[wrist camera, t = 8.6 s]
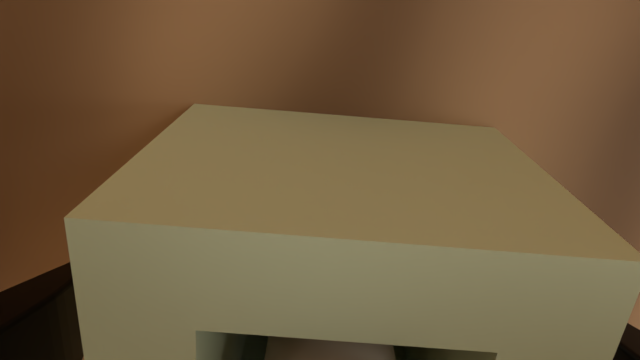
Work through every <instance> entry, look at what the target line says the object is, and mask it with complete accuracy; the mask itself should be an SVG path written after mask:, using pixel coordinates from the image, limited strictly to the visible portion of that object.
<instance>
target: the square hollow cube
mask: <svg viewBox="0 0 640 360" xmlns="http://www.w3.org/2000/svg"><path fill="white" fill-rule="evenodd" d="M64 222H65V229H66V236H67V243H68V250H69V257H70V264H71V271H72V278H73V285H74V292H75V299H76V306H77V313H78V320H79V327H80V334H81V341H82V347H83V354H84V360H264V359H265V353H266V348H267V342H268V336H277V337H291V338H304V339H318V340H331V341H345V342H358V343H372V344H385V345H393V348H394V354H395V359H396V360H613V358H614V355H615V353H616V350H617V348H618V345H619V342H620V340H621V337H622V335H623V332H624V330H625V327H626V325H627V322H628V320H629V317H630V315H631V312H632V310H633V307H634V305H635V302H636V300H637V297H638V295H639V292H640V253H639V252H638V251H637V250H636V249H635V248H634V247H632V246H631V245H630V244H629V243H628V242H627V241H626V240H624V239H623V238H622V237H621V236H620V235H619V234H617V233H616V232H615V231H614V230H613V229H612V228H610V227H609V226H608V225H607V224H606V223H605V222H604V221H602V220H601V219H600V218H599V217H598V216H597V215H595V214H594V213H593V212H592V211H591V210H590V209H588V208H587V207H586V206H585V205H584V204H583V203H582V202H580V201H579V200H578V199H577V198H576V197H575V196H573V195H572V194H571V193H570V192H569V191H568V190H566V189H565V188H564V187H563V186H562V185H561V184H560V183H558V182H557V181H556V180H555V179H554V178H553V177H551V176H550V175H549V174H548V173H547V172H546V171H544V170H543V169H542V168H541V167H540V166H539V165H538V164H536V163H535V162H534V161H533V160H532V159H531V158H529V157H528V156H527V155H526V154H525V153H524V152H522V151H521V150H520V149H519V148H518V147H517V146H516V145H514V144H513V143H512V142H511V141H510V140H509V139H507V138H506V137H505V136H504V135H503V134H502V133H500V132H499V131H498V130H497V129H496V128H494V127H482V126H469V125H456V124H444V123H431V122H419V121H406V120H394V119H381V118H368V117H356V116H343V115H331V114H318V113H305V112H293V111H280V110H268V109H255V108H243V107H230V106H217V105H205V104H193V105H192V106H191V107H190V108H189V109H188V110H187V111H185V112H184V113H183V114H182V115H181V116H180V117H179V118H177V119H176V120H175V121H174V122H173V123H172V124H171V125H169V126H168V127H167V128H166V129H165V130H164V131H163V132H161V133H160V134H159V135H158V136H157V137H156V138H154V139H153V140H152V141H151V142H150V143H149V144H148V145H146V146H145V147H144V148H143V149H142V150H141V151H140V152H138V153H137V154H136V155H135V156H134V157H133V158H132V159H130V160H129V161H128V162H127V163H126V164H125V165H124V166H122V167H121V168H120V169H119V170H118V171H117V172H116V173H114V174H113V175H112V176H111V177H110V178H109V179H108V180H106V181H105V182H104V183H103V184H102V185H101V186H100V187H98V188H97V189H96V190H95V191H94V192H93V193H91V194H90V195H89V196H88V197H87V198H86V199H85V200H83V201H82V202H81V203H80V204H79V205H78V206H77V207H75V208H74V209H73V210H72V211H71V212H70V213H69V214H67V215H66V216H65V217H64Z"/></svg>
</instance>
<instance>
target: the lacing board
mask: <svg viewBox="0 0 640 360" xmlns="http://www.w3.org/2000/svg"><path fill="white" fill-rule="evenodd" d="M193 104H205V105H217V106H230V107H243V108H255V109H268V110H280V111H293V112H305V113H318V114H331V115H343V116H356V117H368V118H381V119H394V120H406V121H419V122H431V123H444V124H456V125H469V126H482V127H494V128H496V129H497V130H498V131H499V132H500V133H502V134H503V135H504V136H505V137H506V138H507V139H509V140H510V141H511V142H512V143H513V144H514V145H516V146H517V147H518V148H519V149H520V150H521V151H522V152H524V153H525V154H526V155H527V156H528V157H529V158H531V159H532V160H533V161H534V162H535V163H536V164H538V165H539V166H540V167H541V168H542V169H543V170H544V171H546V172H547V173H548V174H549V175H550V176H551V177H553V178H554V179H555V180H556V181H557V182H558V183H560V184H561V185H562V186H563V187H564V188H565V189H566V190H568V191H569V192H570V193H571V194H572V195H573V196H575V197H576V198H577V199H578V200H579V201H580V202H582V203H583V204H584V205H585V206H586V207H587V208H588V209H590V210H591V211H592V212H593V213H594V214H595V215H597V216H598V217H599V218H600V219H601V220H602V221H604V222H605V223H606V224H607V225H608V226H609V227H610V228H612V229H613V230H614V231H615V232H616V233H617V234H619V235H620V236H621V237H622V238H623V239H624V240H626V241H627V242H628V243H629V244H630V245H631V246H632V247H634V248H635V249H636V250H637V251H638V252H639V253H640V0H0V292H1V291H3V290H6V289H8V288H10V287H13V286H15V285H17V284H20V283H22V282H24V281H27V280H29V279H31V278H34V277H36V276H38V275H41V274H43V273H45V272H48V271H50V270H52V269H55V268H57V267H59V266H62V265H64V264H66V263H68V262H70V257H69V250H68V243H67V236H66V229H65V222H64V217H65V216H66V215H67V214H69V213H70V212H71V211H72V210H73V209H74V208H75V207H77V206H78V205H79V204H80V203H81V202H82V201H83V200H85V199H86V198H87V197H88V196H89V195H90V194H91V193H93V192H94V191H95V190H96V189H97V188H98V187H100V186H101V185H102V184H103V183H104V182H105V181H106V180H108V179H109V178H110V177H111V176H112V175H113V174H114V173H116V172H117V171H118V170H119V169H120V168H121V167H122V166H124V165H125V164H126V163H127V162H128V161H129V160H130V159H132V158H133V157H134V156H135V155H136V154H137V153H138V152H140V151H141V150H142V149H143V148H144V147H145V146H146V145H148V144H149V143H150V142H151V141H152V140H153V139H154V138H156V137H157V136H158V135H159V134H160V133H161V132H163V131H164V130H165V129H166V128H167V127H168V126H169V125H171V124H172V123H173V122H174V121H175V120H176V119H177V118H179V117H180V116H181V115H182V114H183V113H184V112H185V111H187V110H188V109H189V108H190V107H191V106H192V105H193ZM627 323H629V324H630V325H632V326H634V327H636V328H637V329H639V330H640V292H639V295H638V297H637V300H636V302H635V305H634V307H633V310H632V312H631V315H630V317H629V320H628V322H627ZM82 360H84V357H83V359H82ZM264 360H396V359H395V354H394V348H393V345H385V344H372V343H358V342H345V341H331V340H318V339H304V338H291V337H277V336H268V342H267V348H266V353H265V359H264Z"/></svg>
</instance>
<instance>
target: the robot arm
mask: <svg viewBox="0 0 640 360" xmlns="http://www.w3.org/2000/svg"><path fill="white" fill-rule="evenodd" d="M83 357H84V354H83V347H82V341H81V334H80V327H79V320H78V313H77V306H76V299H75V292H74V285H73V278H72V271H71V264H70V262H68V263H66V264H64V265H62V266H59V267H57V268H55V269H52V270H50V271H48V272H45V273H43V274H41V275H38V276H36V277H34V278H31V279H29V280H27V281H24V282H22V283H20V284H17V285H15V286H13V287H10V288H8V289H6V290H3V291H1V292H0V360H82V359H83ZM613 360H640V330H639V329H637V328H636V327H634V326H632V325H630V324H629V323H627V325H626V327H625V330H624V332H623V335H622V337H621V340H620V342H619V345H618V348H617V350H616V353H615V355H614V358H613Z"/></svg>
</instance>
